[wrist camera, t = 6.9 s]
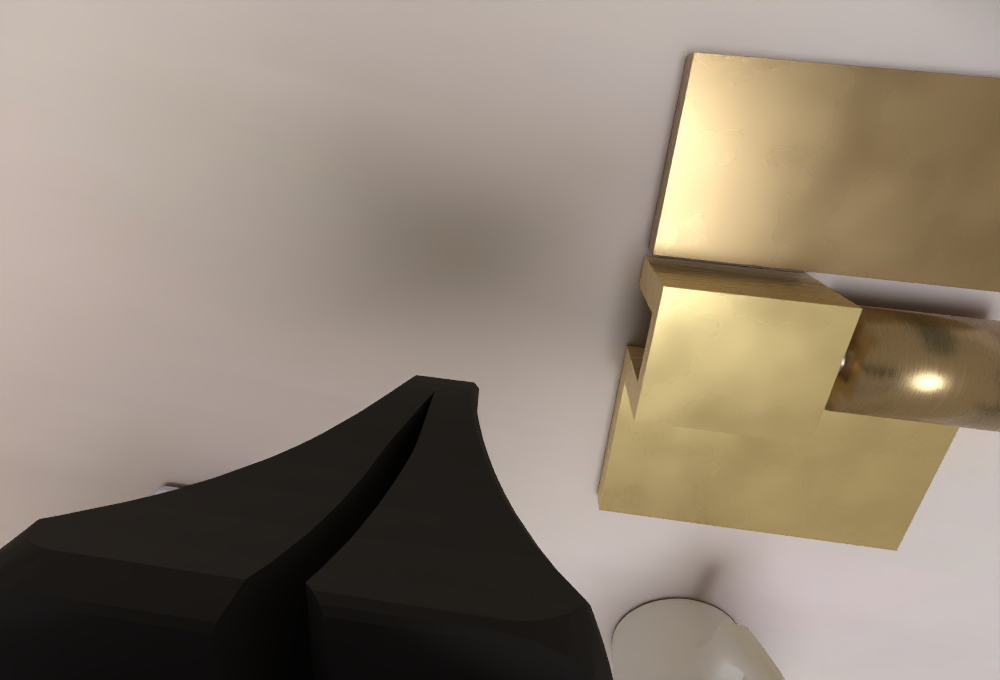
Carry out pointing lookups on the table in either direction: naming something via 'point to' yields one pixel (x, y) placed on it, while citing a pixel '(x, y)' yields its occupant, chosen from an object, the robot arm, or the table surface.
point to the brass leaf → (757, 414)
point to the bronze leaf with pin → (851, 210)
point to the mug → (687, 645)
